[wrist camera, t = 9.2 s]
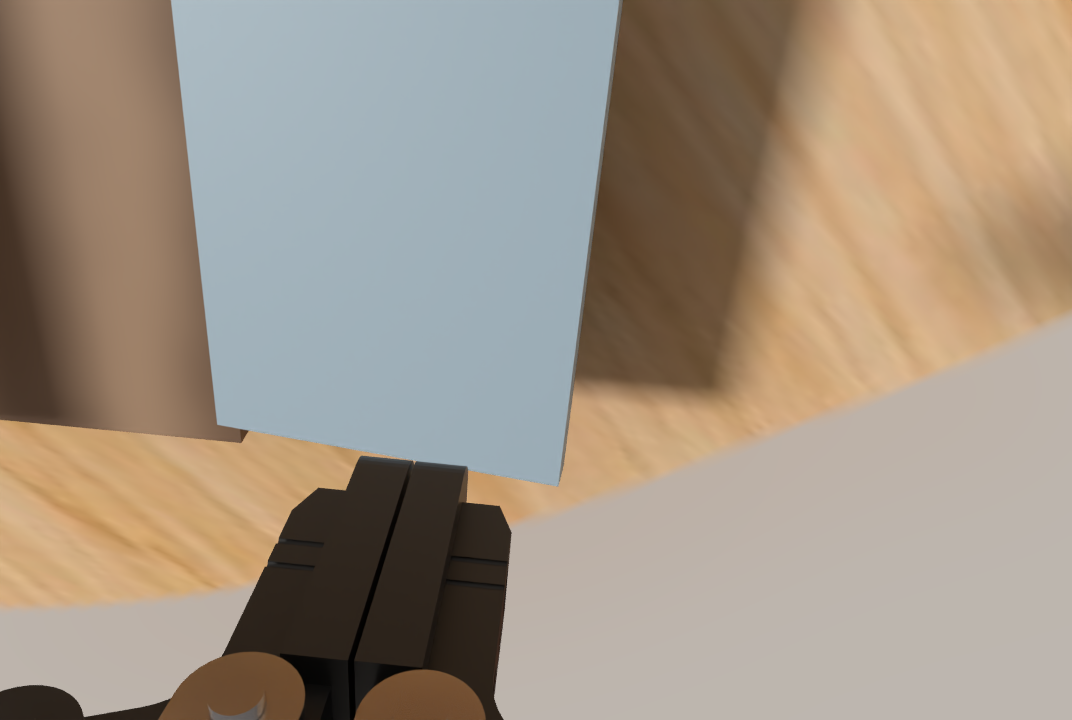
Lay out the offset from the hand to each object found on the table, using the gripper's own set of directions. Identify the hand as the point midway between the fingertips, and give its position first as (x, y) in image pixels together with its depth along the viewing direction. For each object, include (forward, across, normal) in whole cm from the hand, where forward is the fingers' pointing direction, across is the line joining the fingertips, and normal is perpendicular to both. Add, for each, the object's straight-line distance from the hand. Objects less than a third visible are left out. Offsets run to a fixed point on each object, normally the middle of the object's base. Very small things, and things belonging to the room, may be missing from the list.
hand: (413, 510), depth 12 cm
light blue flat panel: (+12, +7, 0) cm, 14 cm away
